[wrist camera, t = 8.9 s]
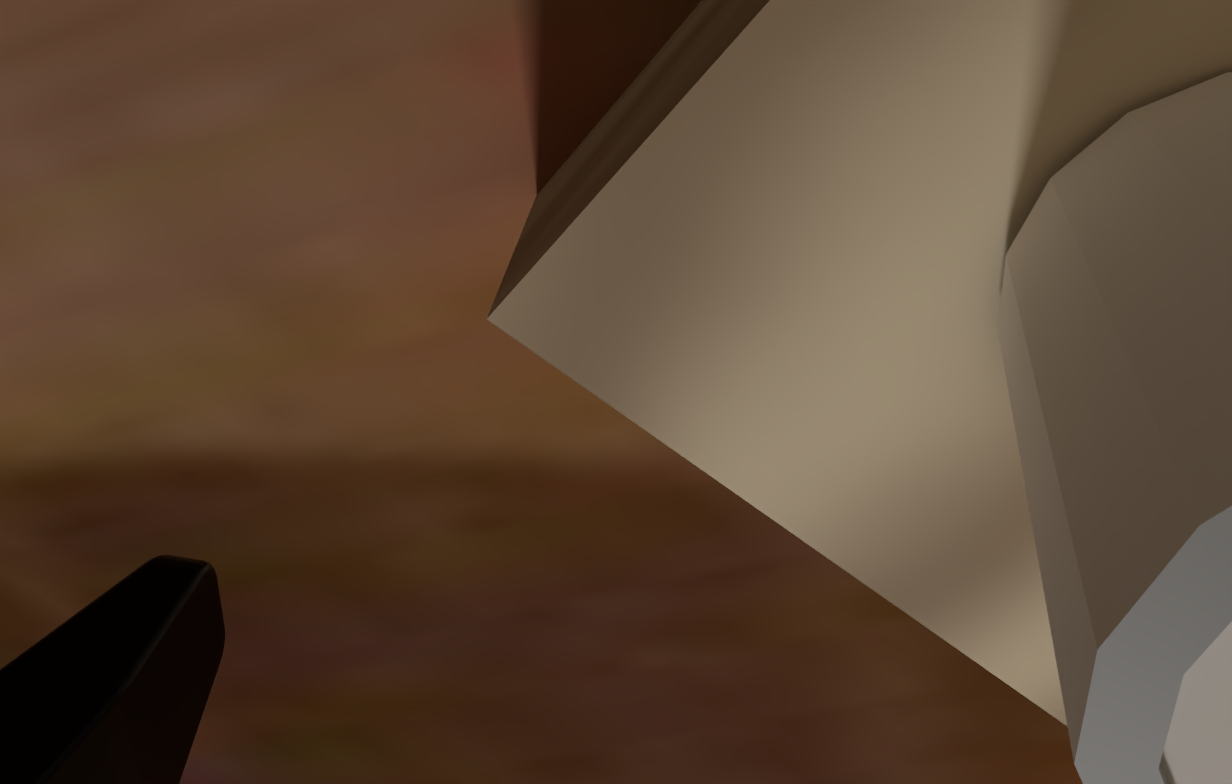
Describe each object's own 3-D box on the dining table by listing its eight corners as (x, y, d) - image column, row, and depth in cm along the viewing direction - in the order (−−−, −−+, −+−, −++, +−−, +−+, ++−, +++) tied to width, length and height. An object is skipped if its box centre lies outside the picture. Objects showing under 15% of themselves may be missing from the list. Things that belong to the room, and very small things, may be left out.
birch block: (543, 179, 20) (487, 319, 16) (1277, -694, 12) (1469, -788, 9) (1073, 581, 24) (1121, 764, 20) (1870, 105, 16) (2166, 261, 13)
